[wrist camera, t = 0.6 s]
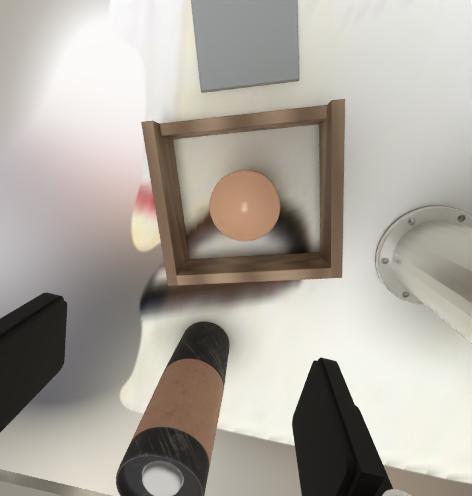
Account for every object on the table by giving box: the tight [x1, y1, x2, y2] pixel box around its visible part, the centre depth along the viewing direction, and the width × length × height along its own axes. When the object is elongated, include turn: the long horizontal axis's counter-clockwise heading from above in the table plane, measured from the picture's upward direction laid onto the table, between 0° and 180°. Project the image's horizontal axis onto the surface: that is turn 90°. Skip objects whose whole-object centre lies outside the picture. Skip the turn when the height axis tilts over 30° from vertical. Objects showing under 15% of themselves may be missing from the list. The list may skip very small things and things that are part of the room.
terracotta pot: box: [210, 170, 280, 241], centre depth 31 cm, size 7×7×9 cm
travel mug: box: [116, 322, 229, 496], centre depth 32 cm, size 8×8×20 cm
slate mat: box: [191, 0, 299, 93], centre depth 30 cm, size 11×11×1 cm
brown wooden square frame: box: [141, 99, 345, 286], centre depth 33 cm, size 20×18×6 cm
